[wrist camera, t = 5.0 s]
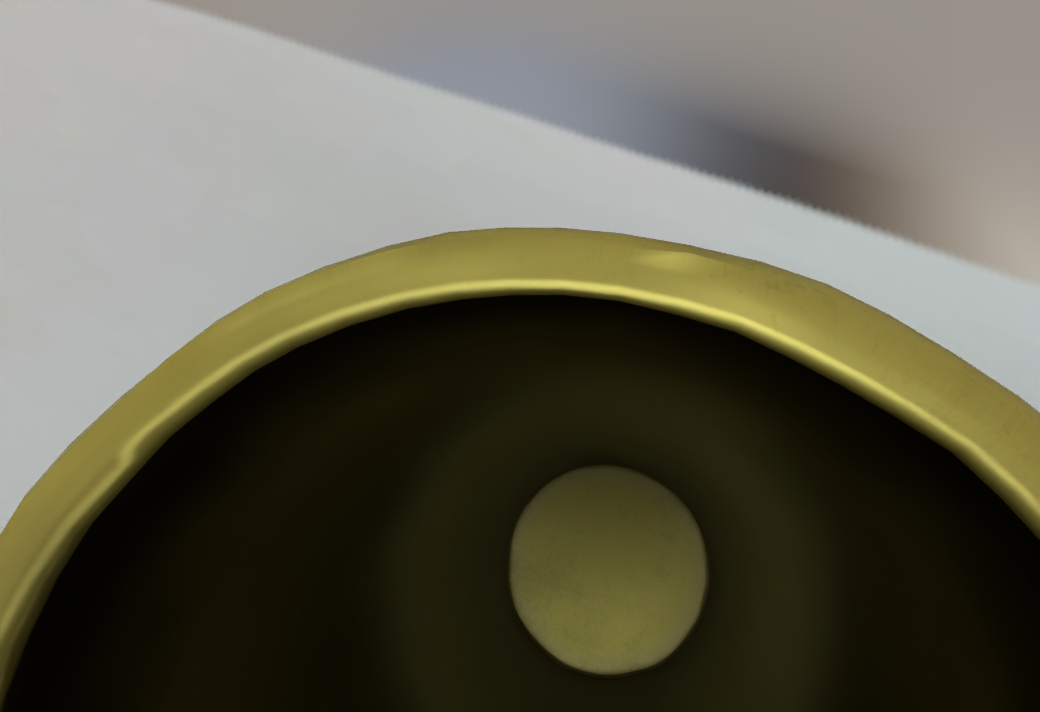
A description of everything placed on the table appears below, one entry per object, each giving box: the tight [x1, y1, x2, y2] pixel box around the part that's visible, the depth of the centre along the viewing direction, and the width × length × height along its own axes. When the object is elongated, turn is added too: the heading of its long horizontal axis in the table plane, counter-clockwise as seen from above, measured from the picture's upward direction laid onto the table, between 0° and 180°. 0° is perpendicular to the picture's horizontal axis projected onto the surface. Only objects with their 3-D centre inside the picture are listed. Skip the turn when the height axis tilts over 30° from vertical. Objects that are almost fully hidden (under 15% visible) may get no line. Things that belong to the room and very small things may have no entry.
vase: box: [0, 228, 1040, 712], centre depth 9 cm, size 6×6×14 cm
